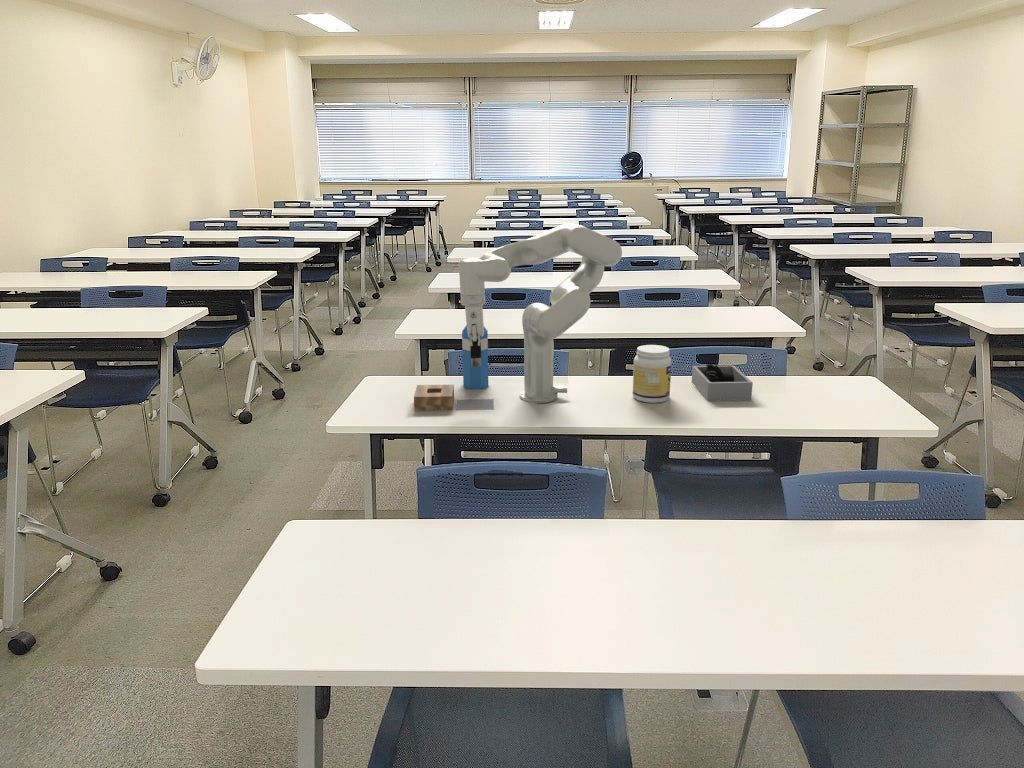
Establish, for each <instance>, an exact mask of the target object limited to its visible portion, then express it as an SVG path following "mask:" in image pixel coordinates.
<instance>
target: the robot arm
mask: <svg viewBox="0 0 1024 768" xmlns="http://www.w3.org/2000/svg"><path fill="white" fill-rule="evenodd" d="M569 252H571V253H574V254H576V255H578V256H581V257H582V259H581V262H580V264H579V266H578V268H577V269H576V270H575V271H574V272H573V273H571V274H570V275H569V276H568V277H566V278H565V279H564V280H563V281H561V282H560V283H559V284H558V285H556V286H555V287H554V288H553V289H552V291H551V293H550V295H549V301H550V304H551V305H550V306H549V305H547V304H545V303H542V302H534V303H531V304H529V305H528V306H527V307H525V309H524V310H523V313H522V316H521V317H522V318H521V323H522V329H523V330H522V331H523V339H524V340H523V343H524V344H523V346H524V352H523V353H524V355H523V357H524V358H523V359H524V361H523V364H524V366H523V367H524V369H523V371H524V372H523V373H524V377H523V378H524V379H523V380H524V381H523V382H524V383H523V384H524V388H523V389H524V390H522V391H520V393H519V398H520V399H521V400H522V401H524V402H527V403H534V404H547V403H551V402H554V401H556V400H557V399H558V397H559V395H558V394H568V387H567V386H563V385H555V381H554V351H555V348H554V346H555V345H554V339H556V338H558V337H560V336H561V335H563V334H564V333H565V332H567V331H568V330H569V329H570V328H571V327H572V326H574V325H575V324H576V323H577V322H579V321H580V320H581V319H582V318H583V317H584V316H585V315H586V314H587V312H588V311H589V309H590V306H591V297H590V294H591V293H592V292H593V291H594V290H596V288H597V287H598V286H599V285H600V283H601V282H602V279H603V276H604V272H605V267H609V268H610V267H613V266H615V265H617V264H618V263H619V262H620V261H621V259H622V256H623V249H622V247H621V245H620V243H619V242H618V241H616V240H615V239H612V238H610V237H608V236H605V235H604V234H601V233H599V232H597V231H595V230H592V229H590V228H589V227H586V226H584V225H581V224H576V223H572V222H568V223H563V224H561V225H558V226H556V227H553V228H551V229H549V230H546V231H544V232H542V233H539V234H537V235H535V236H532V237H530V238H525V239H522V240H519V241H515V242H512V243H508V244H505V245H502V246H500V247H497V248H495V249H493V250H490V251H488V252H486V253H484V254H483V255H482V256H481V257H480V258H477V257H467V258H463V259H461V260H460V261H459V262H458V271H459V273H458V275H459V290H460V291H459V293H460V305H461V306H464V308H465V310H464V311H465V312H464V313H465V322H466V323H465V324H466V325H467V332H468V336H469V337H470V338H471V346H470V351H471V358H481V342H480V341H479V336H482V337H483V336H484V327H485V325H484V309H483V305H485V304H486V292H485V290H486V289H485V282H487V283H501V282H503V281H505V280H507V279H508V278H509V276H510V275H511V273H512V268H516V267H518V266H525V265H527V266H532V265H533V266H534V265H540V264H544V263H546V262H548V261H550V260H552V259H555V258H557V257H559V256H562V255H564V254H567V253H569ZM476 334H478V336H476ZM472 338H473V339H472ZM477 338H478V339H477Z"/></svg>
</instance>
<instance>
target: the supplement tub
mask: <svg viewBox="0 0 1024 768" xmlns="http://www.w3.org/2000/svg"><path fill="white" fill-rule="evenodd" d="M670 354H671V353H670V348H669V347H668V346H664V345H658V344H646V345H645V344H644V345H640V346H638V347H637V348H636V355H635V357H634V358H633V371H632V374H633V375H632V376H633V377H632V396H633V398H634V399H635V400H637V401H639V402H642V401H643V403H651V404H657V403H663V402H666V401H668V400H669V399H670V395H671V378H672V376H671V375H672V361H673V360H672V359H671V357H670Z"/></svg>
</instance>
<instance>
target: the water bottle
mask: <svg viewBox="0 0 1024 768" xmlns="http://www.w3.org/2000/svg"><path fill="white" fill-rule="evenodd" d="M488 331H489V330H488V329H487V328H486V327H485V326H484V336H483V337H482V336H480V342H481V366H480V367H472V361H471V351H470V346H471V344H470V337H469V336H468V332H467V324H466V325H465V326H464V328H463V329H462V332H461V341H462V342H461V345H462V349H461V350H462V378H463V379H462V380H463V381H462V383H463V384H462V385H463V388H465V389H468V390H482V389H486V388H489V344H488V343H489V341H488V337H489V336H488Z"/></svg>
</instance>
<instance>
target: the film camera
mask: <svg viewBox="0 0 1024 768" xmlns="http://www.w3.org/2000/svg"><path fill="white" fill-rule="evenodd" d="M705 366H706V367H705V369H704V376H705V377H706V378H707V379H708V380H709V381H710V382H734V374H731V373H724V372H722V370H721V368H720V367H718V366H719V365H713V364H711V363H709V364H708V363H707V364H706V365H705Z"/></svg>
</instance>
